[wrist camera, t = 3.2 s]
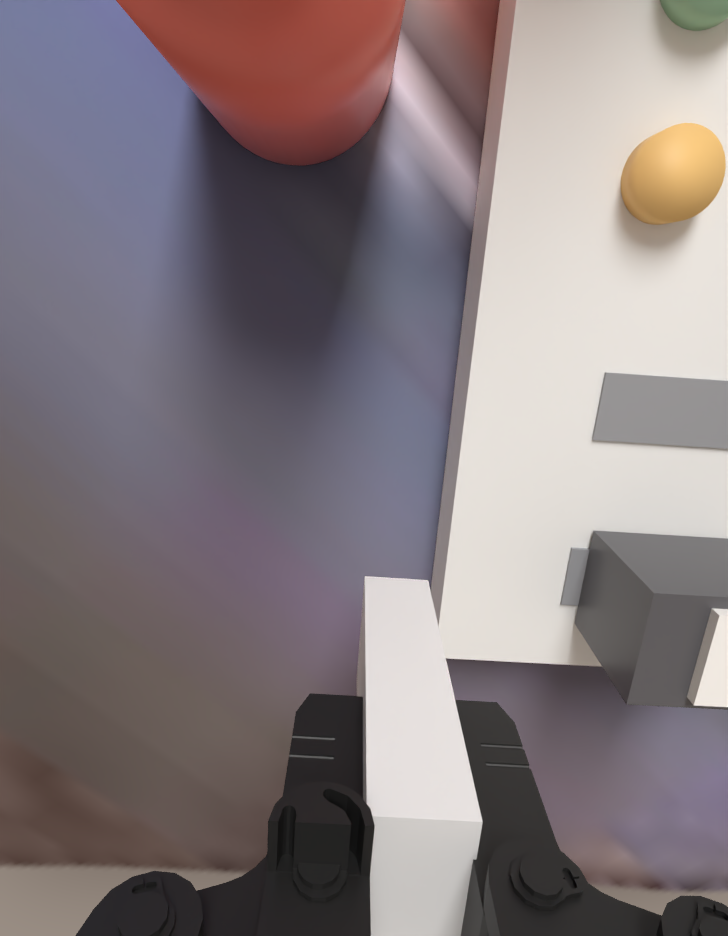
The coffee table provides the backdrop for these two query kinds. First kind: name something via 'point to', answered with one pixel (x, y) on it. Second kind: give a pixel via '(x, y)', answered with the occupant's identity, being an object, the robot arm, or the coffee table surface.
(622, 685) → the breaker
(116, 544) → the coffee table surface
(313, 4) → the cap
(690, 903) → the robot arm
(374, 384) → the coffee table surface
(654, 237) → the panel
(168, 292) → the coffee table surface
